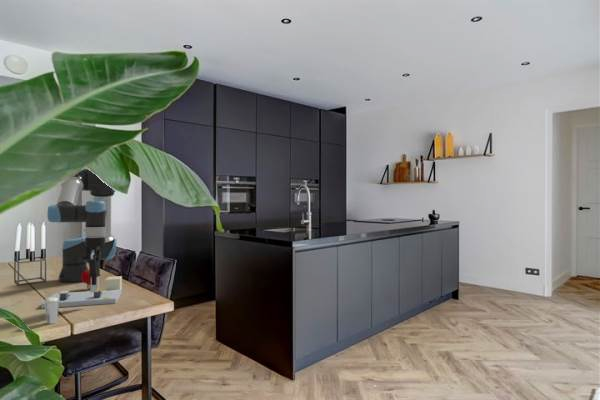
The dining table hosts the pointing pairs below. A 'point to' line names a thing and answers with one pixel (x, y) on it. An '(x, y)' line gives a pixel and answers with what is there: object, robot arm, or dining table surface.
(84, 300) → the panel
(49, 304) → the milkshake
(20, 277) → the dining table surface
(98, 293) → the breaker
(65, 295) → the breaker
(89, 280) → the light bulb
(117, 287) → the cap
